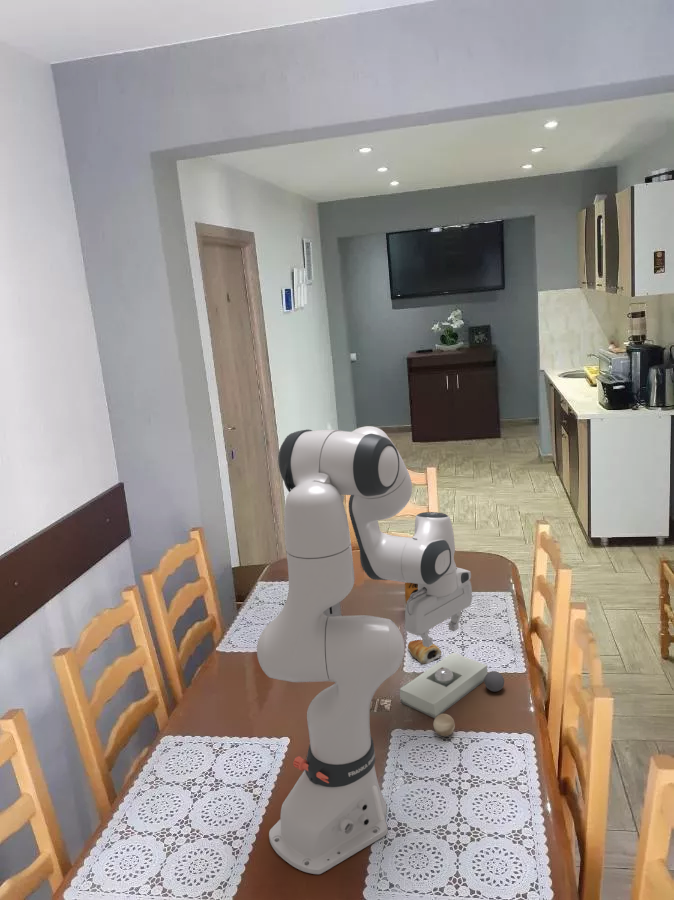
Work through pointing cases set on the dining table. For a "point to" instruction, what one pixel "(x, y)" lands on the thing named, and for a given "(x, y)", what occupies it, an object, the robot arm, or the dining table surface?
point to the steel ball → (444, 677)
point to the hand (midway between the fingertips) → (441, 637)
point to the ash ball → (444, 724)
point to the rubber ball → (494, 681)
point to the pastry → (423, 651)
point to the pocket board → (438, 697)
